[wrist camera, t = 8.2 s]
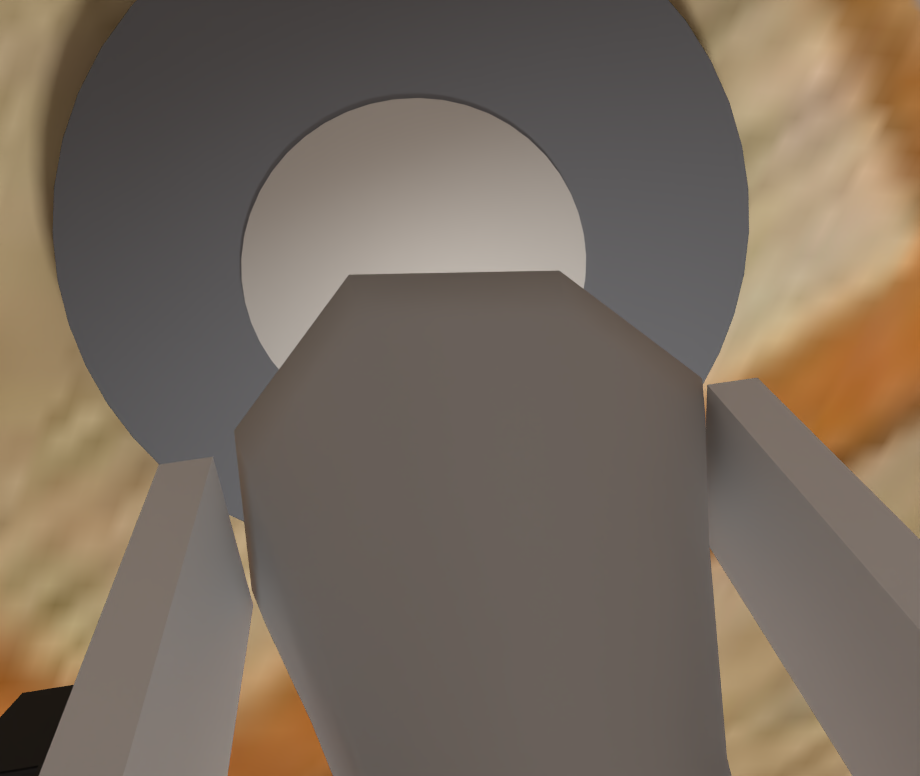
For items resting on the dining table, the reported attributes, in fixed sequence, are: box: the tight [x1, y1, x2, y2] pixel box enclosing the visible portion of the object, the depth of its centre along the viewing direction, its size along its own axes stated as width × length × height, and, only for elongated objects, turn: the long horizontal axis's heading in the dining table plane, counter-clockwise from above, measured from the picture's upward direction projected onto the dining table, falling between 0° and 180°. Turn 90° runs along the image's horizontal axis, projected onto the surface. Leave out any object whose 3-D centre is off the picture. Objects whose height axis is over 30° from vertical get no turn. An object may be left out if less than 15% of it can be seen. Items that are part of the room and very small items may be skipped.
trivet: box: [53, 0, 749, 521], centre depth 23 cm, size 18×18×1 cm
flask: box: [234, 270, 731, 776], centre depth 9 cm, size 7×7×10 cm
